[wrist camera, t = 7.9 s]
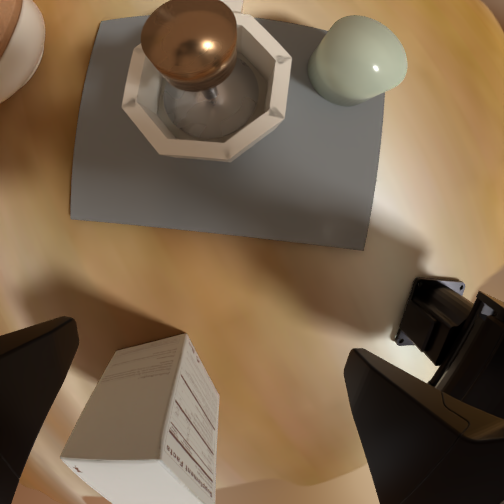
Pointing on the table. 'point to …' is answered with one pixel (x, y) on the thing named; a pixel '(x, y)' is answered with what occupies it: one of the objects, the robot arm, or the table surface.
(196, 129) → the coffee tamper
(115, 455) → the supplement box
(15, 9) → the lidded jar
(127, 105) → the octagonal white frame
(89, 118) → the slate tray
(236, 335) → the table surface
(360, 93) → the sage green dome
